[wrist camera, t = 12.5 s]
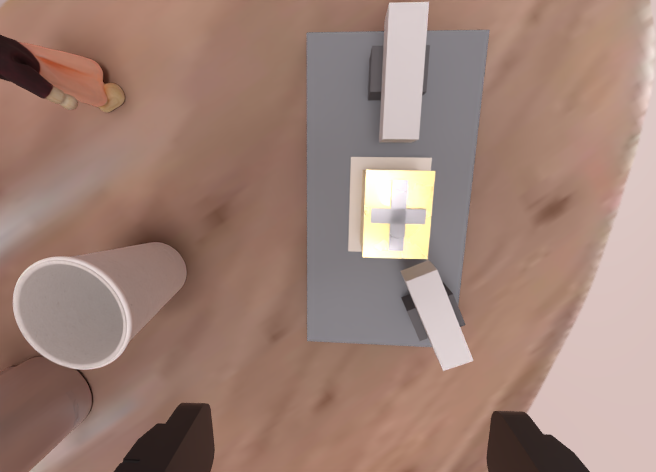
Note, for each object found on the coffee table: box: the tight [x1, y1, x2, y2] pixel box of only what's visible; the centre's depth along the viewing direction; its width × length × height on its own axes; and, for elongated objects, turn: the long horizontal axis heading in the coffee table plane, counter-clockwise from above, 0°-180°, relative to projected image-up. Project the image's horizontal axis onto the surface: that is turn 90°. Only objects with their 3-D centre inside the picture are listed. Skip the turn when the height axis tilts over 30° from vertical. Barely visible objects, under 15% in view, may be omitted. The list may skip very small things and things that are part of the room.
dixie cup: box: [13, 242, 187, 370], centre depth 25 cm, size 8×8×10 cm
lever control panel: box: [307, 2, 489, 371], centre depth 24 cm, size 27×14×6 cm, turn 179°
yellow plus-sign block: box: [360, 170, 435, 259], centre depth 23 cm, size 6×4×5 cm
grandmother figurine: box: [0, 35, 125, 112], centre depth 21 cm, size 8×4×13 cm, turn 60°
